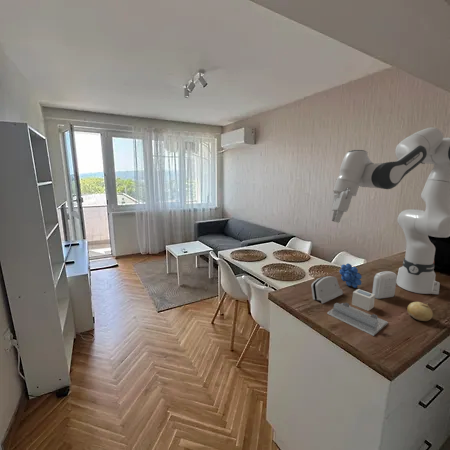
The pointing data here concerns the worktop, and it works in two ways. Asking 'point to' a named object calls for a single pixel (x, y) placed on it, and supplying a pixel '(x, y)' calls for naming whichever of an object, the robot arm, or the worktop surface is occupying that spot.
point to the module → (363, 299)
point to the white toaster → (326, 289)
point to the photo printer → (384, 284)
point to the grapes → (350, 275)
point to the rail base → (380, 322)
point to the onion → (420, 311)
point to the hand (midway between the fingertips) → (335, 221)
